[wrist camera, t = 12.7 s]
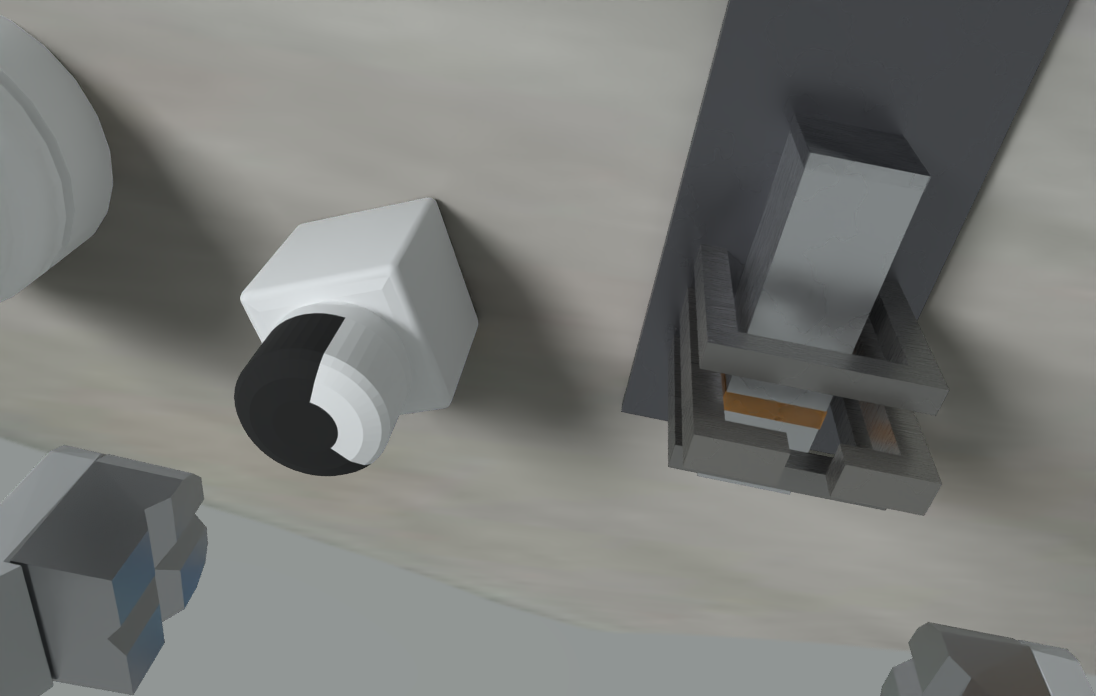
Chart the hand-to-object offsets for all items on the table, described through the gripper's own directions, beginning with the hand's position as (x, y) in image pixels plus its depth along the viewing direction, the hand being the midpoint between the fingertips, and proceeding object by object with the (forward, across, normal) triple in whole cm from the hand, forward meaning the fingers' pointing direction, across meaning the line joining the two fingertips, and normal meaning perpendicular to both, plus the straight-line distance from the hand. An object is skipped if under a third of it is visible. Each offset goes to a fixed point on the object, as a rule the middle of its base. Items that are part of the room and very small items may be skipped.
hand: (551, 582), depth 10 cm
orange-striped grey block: (+28, -9, +10) cm, 32 cm away
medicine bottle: (+29, +9, +14) cm, 34 cm away
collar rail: (+29, -9, +5) cm, 31 cm away
